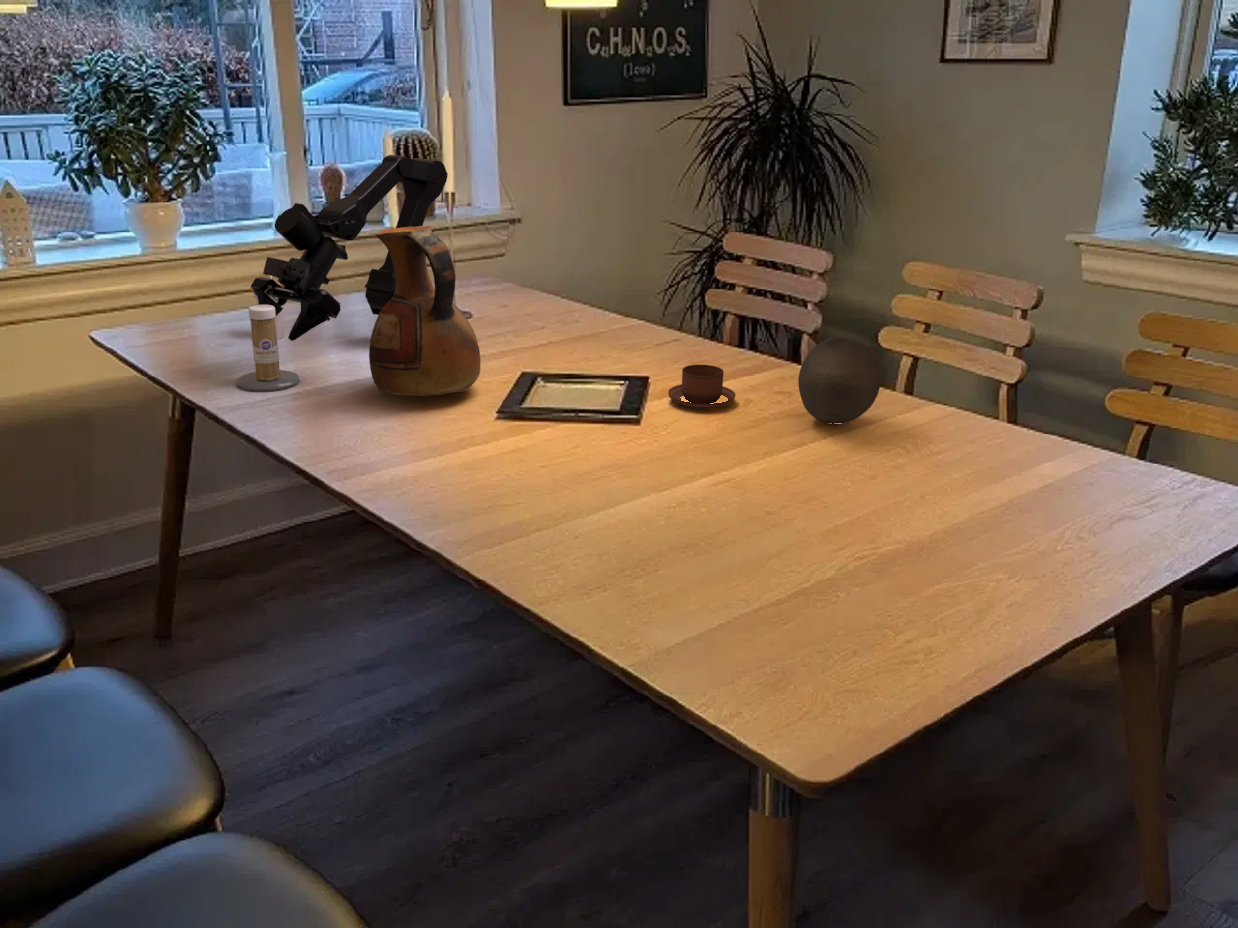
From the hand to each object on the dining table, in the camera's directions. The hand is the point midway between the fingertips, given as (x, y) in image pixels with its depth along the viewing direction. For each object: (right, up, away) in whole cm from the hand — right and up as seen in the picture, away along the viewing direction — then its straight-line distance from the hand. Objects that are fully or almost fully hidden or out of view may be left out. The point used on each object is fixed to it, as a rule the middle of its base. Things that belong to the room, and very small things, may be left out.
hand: (273, 335), depth 204 cm
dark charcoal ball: (+100, -17, -14) cm, 103 cm away
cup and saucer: (+78, -13, -4) cm, 79 cm away
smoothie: (-9, +3, +31) cm, 32 cm away
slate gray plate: (-1, -9, +2) cm, 9 cm away
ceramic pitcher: (+28, -11, -2) cm, 30 cm away
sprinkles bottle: (-1, -8, +1) cm, 8 cm away
